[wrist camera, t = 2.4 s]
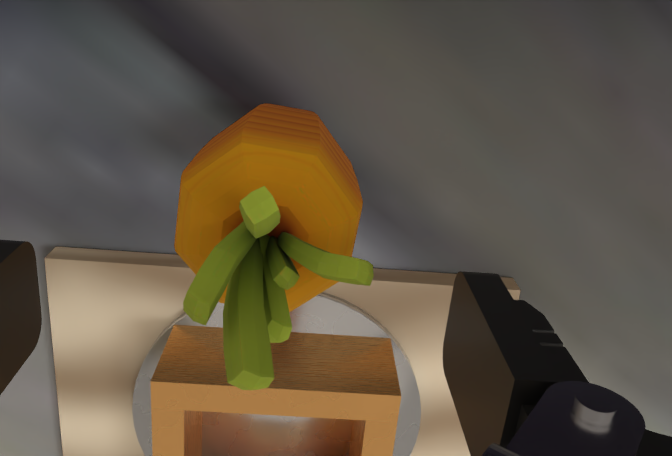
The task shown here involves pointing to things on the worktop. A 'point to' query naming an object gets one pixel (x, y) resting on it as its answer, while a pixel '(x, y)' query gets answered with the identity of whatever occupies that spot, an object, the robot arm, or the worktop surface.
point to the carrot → (266, 231)
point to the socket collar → (281, 390)
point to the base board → (167, 304)
